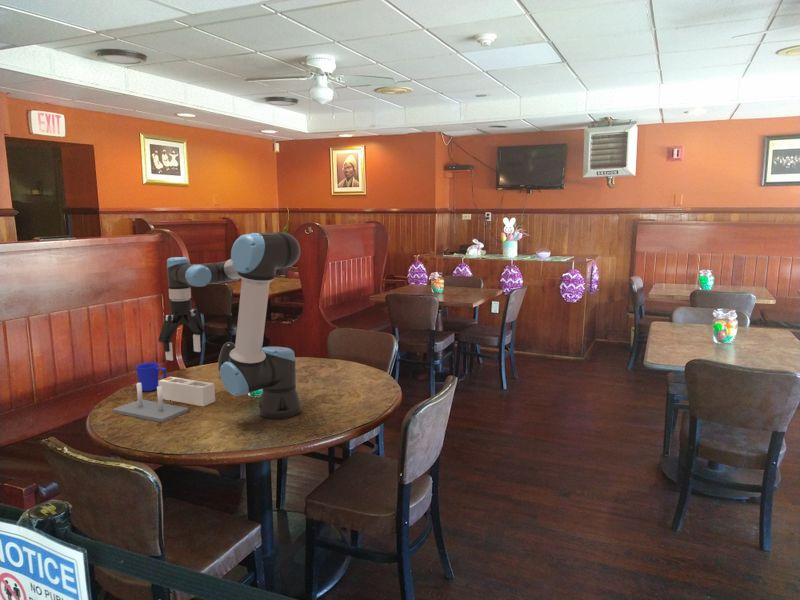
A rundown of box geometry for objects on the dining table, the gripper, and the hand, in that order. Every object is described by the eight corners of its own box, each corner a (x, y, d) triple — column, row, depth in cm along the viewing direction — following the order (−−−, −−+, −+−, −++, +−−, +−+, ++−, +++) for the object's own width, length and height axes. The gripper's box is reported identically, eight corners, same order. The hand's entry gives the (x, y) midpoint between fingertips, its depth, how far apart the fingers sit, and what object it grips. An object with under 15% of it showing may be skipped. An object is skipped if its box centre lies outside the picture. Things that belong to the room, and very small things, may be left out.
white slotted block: (215, 401, 214) (214, 382, 213) (203, 406, 208) (202, 386, 207) (171, 393, 223) (170, 375, 222) (159, 398, 218) (158, 379, 217)
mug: (160, 393, 223) (158, 369, 222) (133, 392, 226) (131, 367, 224) (173, 387, 231) (171, 363, 230) (146, 385, 234) (144, 362, 232)
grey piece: (189, 411, 204) (187, 384, 202) (162, 422, 193) (160, 394, 191) (140, 402, 214) (138, 376, 212) (112, 412, 203) (110, 385, 201)
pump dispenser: (239, 380, 241) (237, 344, 239) (215, 380, 241) (213, 345, 239) (246, 373, 251) (244, 339, 249) (222, 373, 251) (220, 339, 249)
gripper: (197, 294, 223) (200, 347, 226) (145, 303, 200) (149, 362, 204) (212, 295, 219) (215, 349, 223) (160, 305, 197) (164, 364, 200)
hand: (183, 355), depth 213 cm, fingers open, 13 cm apart
